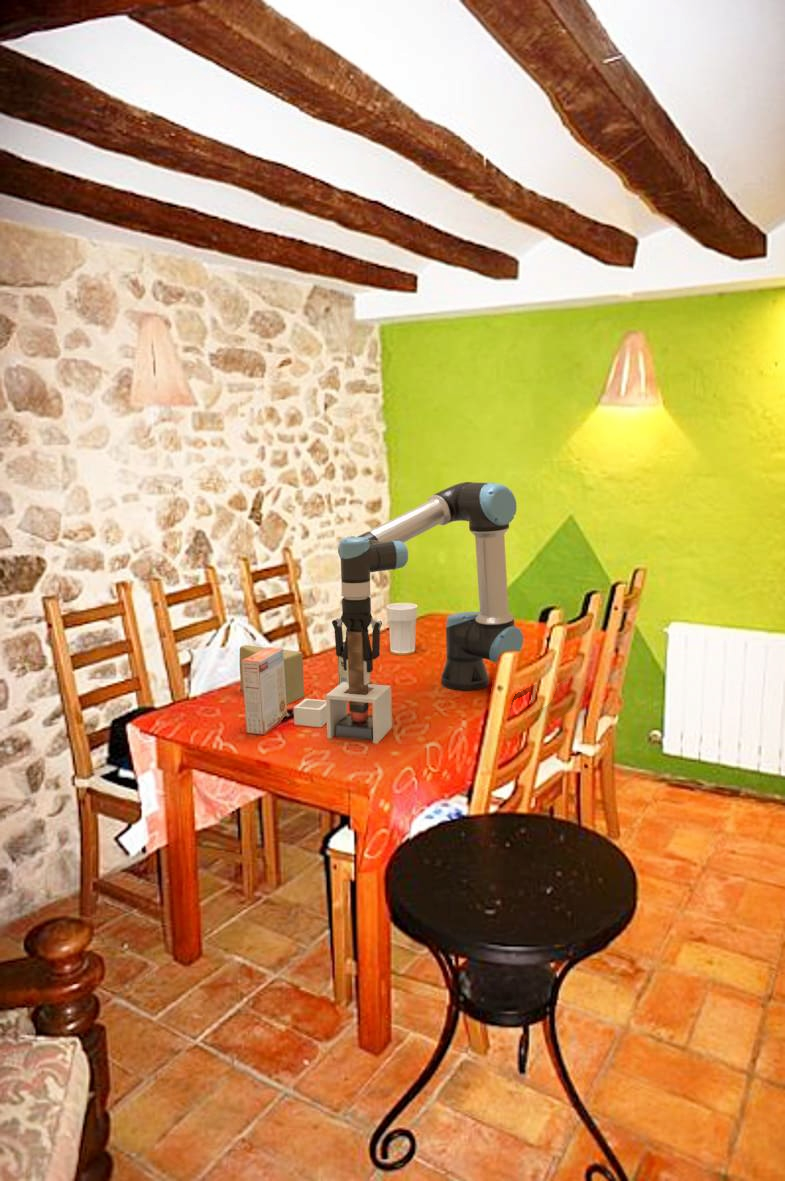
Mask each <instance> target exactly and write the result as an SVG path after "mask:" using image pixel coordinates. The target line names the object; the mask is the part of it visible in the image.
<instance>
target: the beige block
mask: <svg viewBox="0 0 785 1181" xmlns="http://www.w3.org/2000/svg"><path fill="white" fill-rule="evenodd" d="M264 648H265V647H262V646H255V645H250V644H249V645H247V644H244V645H241V646H240V647H239V677H240V679H239V680H240V690H241V692H244V689H243V676H242V662H241V661H242V660H244V659H245V658H247V657H249V656H251V655H253V654H255V653H257V652H258V651H260V650H262V649H264ZM283 655H284V671H285V688H286V704H287V705H288V704H292V703H294V702H296V701H298V700H300V699H303V698H304V697H305V684H304V681H305V680H304V663H303V662H304V660H303V652H302V651H298V650H297V651H296V650H290V649H283Z"/></svg>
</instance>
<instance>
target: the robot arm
mask: <svg viewBox="0 0 785 1181" xmlns="http://www.w3.org/2000/svg"><path fill="white" fill-rule="evenodd" d="M516 513H517V500H516V497H515V495H514V493H513V492H512V490H511V489H509V487H508V486H506V485H504V484H502V483H501V484H499V483H496V482H476V481H475V482H470V481H465V482H460V483H456V484H454V485H450V486H449V487H447V488H445V489H443V490H440V491H438V492H437V493H434V494H433V495H431V496H429V498H428V499H427V501H426V502H424V503H422V504H420V505H418V506H416V507H414V508H412V509H410V510H408V511H406V512H404V513H402V514H400V515H398V516H396V517H394V518H392V519H391V520H390V519H389V521H388V520H387V521H386V522H385V523H382V524H380V525H378V526H376V527H375V528H372V529H370V530H369V531H366V532H364V533H362V534H360V535H358V536H353V535H352V536H346V537H344V538H342V539H341V540H340V542H339V544H338V547H337V554H338V556H339V559H340V576H341V577H340V578H341V581H340V582H341V596H342V599H341V611H342V613H341V614H342V615H341V617H340V618H338V617H337V618H335V619H333V620H332V621H331V624H332V627H333V630H334V642H335V654H336V656H337V658H338V657H339V656H340V657H342V658H343V666H344V670H346V671H347V684H349V676H348V641H347V631H350V632H351V631H359V632H362V636H363V649H364V653H365V658H366V659H365V660H364V661H363V674H364V685H367V684H368V683H370V684H371V673H372V672H373V671H374V670H373V669H374V667H373V666H374V665H373V664H374V662H373V660H376V659H378V658H379V656H380V653H381V652H380V651H381V650H380V649H381V648H380V647H381V645H380V644H381V642H380V640H381V638H380V637H381V628H382V625H383V622H382V621H381V620H378V621H377V620H376V619H373V616H372V611H371V610H372V604H371V601H372V600H371V597H370V595H371V573H376V572H383V571H390V570H393V571H395V570H397V569H401V568H404V567H405V566H406V565H407V563H408V560H409V550H408V547H407V545H406V544H405V542H408V541H410V540H411V539H413V538H415V537H417V536H420V535H421V534H423V533H425V532H427V531H429V530H431V529H433V528H434V527H436V526H439V525H440V526H447V525H448V524H450V523H453V522H461V521H462V522H468V524H469V525H468V526H469V532H470V533H471V534H472V535H473V536H474V538H475V539H474V540H475V554H476V555H475V556H476V558H475V559H476V570H477V588H478V600H479V601H478V603H479V606H478V607H479V611H463V612H457V613H452V614H450V615H448V617H447V618H446V626H445V632H446V633H445V634H446V635H445V637H446V638H445V639H446V640H445V641H446V644H445V645H446V661H445V664H444V668H443V671H442V673H441V678H440V679H441V685H442V686H443V687H445V688H447V689H452V690H457V691H473V690H480V689H485V688H486V687H487V686H488V685H490V684H489V683H490V682H489V679H490V677H489V674H488V671H487V667H486V664H485V661H484V659H485V660H488V661H491V662H492V663H498V662H497V659H498V657H499V655H500V654H501V653H502V652H504V651H510V650H515V651H519V653H520V652H521V650H522V648H523V644H524V635H523V632H522V630H521V629H520V628H519V627H517V626H515V618H514V615H513V614H512V613H511V612H510V611H509V596H508V579H507V578H508V576H507V575H508V574H507V562H506V561H507V560H506V558H507V557H506V544H505V534H506V532H508V530H509V529H510V523H511V522H512V521H513V520H514V518H515V515H516ZM343 625H344V627H346V631H345V640H344V637H343V636H344V635H343ZM370 625H371V628H372V632H371V633H372V634H371V635H372V637H371V638H372V639H371V640H372V641H370V636H369V627H370ZM365 630H366V631H365ZM364 631H365V632H364ZM343 642H345V645H344V648H343ZM371 644H372V645H371Z"/></svg>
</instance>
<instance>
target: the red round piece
mask: <svg viewBox="0 0 785 1181" xmlns="http://www.w3.org/2000/svg"><path fill="white" fill-rule="evenodd" d="M350 714H351V720H352V721H356V722H358V723H364V722H363V721H366V720H368V715H369V708H368V709H367V710H366V711H365V712H364V713H358V712H350Z"/></svg>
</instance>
